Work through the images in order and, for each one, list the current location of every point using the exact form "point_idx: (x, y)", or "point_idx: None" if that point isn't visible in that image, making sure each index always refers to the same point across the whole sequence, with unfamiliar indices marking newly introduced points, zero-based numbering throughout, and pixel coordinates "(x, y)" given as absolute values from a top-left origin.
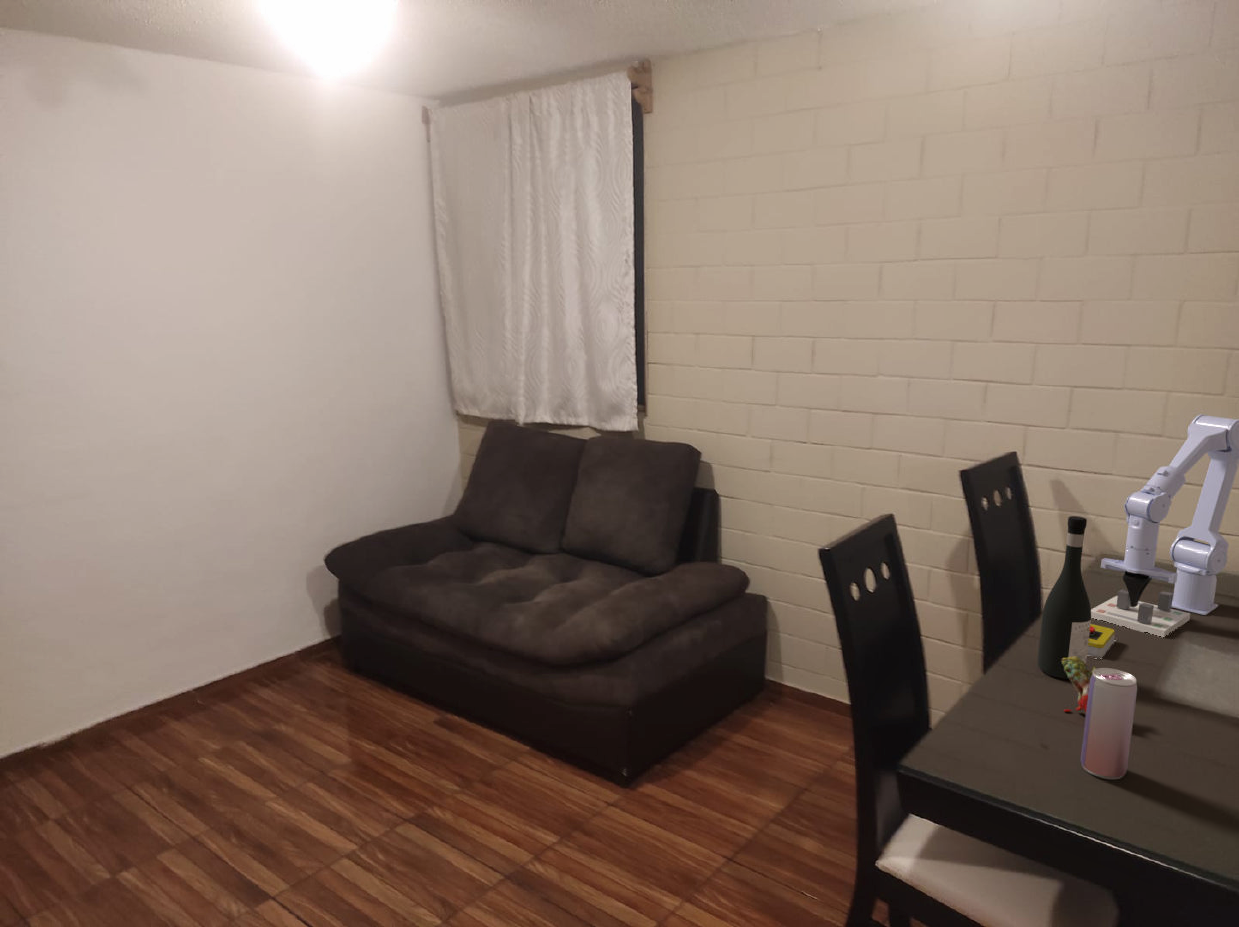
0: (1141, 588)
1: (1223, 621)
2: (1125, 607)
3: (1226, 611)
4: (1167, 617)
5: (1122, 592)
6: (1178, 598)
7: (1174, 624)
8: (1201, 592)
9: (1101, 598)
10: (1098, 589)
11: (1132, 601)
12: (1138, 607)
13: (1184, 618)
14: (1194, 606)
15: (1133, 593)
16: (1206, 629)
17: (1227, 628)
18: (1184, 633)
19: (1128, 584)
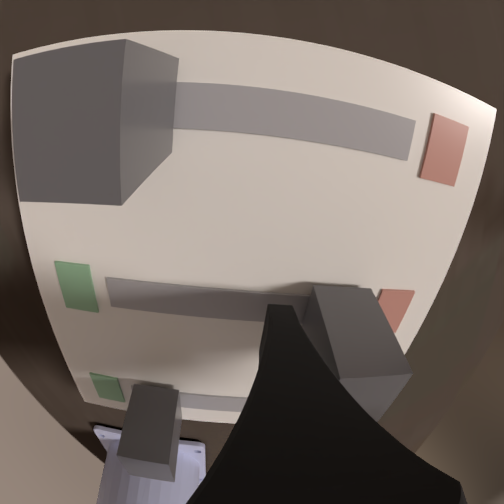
0: (221, 457)
1: (50, 406)
2: (320, 294)
3: (96, 454)
4: (96, 317)
5: (383, 377)
6: None
7: (24, 229)
8: (106, 490)
9: (399, 394)
10: (395, 435)
11: (286, 330)
12: None
13: (65, 353)
14: None
15: (295, 387)
16: (15, 324)
17: (9, 364)
18: (12, 218)
19: (378, 457)
